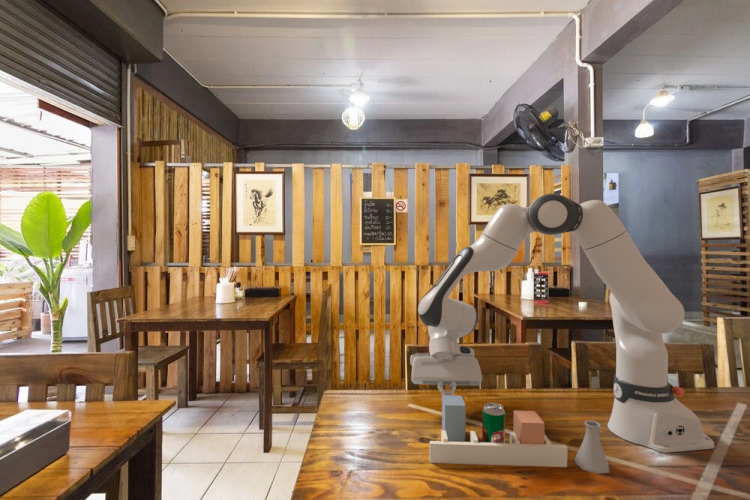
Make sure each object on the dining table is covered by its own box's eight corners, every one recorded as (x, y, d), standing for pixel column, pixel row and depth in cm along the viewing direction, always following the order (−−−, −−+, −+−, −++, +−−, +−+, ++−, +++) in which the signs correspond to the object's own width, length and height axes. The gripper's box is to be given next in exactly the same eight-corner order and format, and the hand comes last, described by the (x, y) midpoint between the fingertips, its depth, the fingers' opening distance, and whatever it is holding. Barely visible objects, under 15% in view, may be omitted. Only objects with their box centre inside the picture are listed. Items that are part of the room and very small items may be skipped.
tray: (538, 431, 102) (538, 410, 102) (567, 470, 85) (567, 445, 85) (424, 428, 104) (424, 407, 104) (430, 465, 87) (430, 441, 87)
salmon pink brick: (532, 445, 94) (533, 409, 93) (543, 462, 87) (544, 423, 86) (511, 445, 94) (512, 408, 94) (521, 461, 87) (521, 422, 87)
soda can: (492, 465, 87) (493, 413, 86) (477, 454, 91) (477, 404, 91) (509, 459, 89) (510, 408, 89) (493, 449, 94) (493, 400, 93)
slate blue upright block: (460, 427, 103) (460, 394, 102) (465, 441, 96) (465, 405, 95) (441, 427, 103) (441, 393, 103) (444, 441, 96) (445, 405, 96)
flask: (616, 479, 82) (617, 433, 82) (579, 475, 83) (580, 429, 83) (603, 460, 89) (604, 417, 89) (569, 456, 90) (570, 414, 90)
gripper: (410, 347, 116) (411, 393, 107) (479, 349, 115) (486, 395, 105) (409, 357, 121) (410, 402, 111) (475, 359, 119) (482, 404, 110)
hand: (447, 398), depth 108 cm, fingers closed
